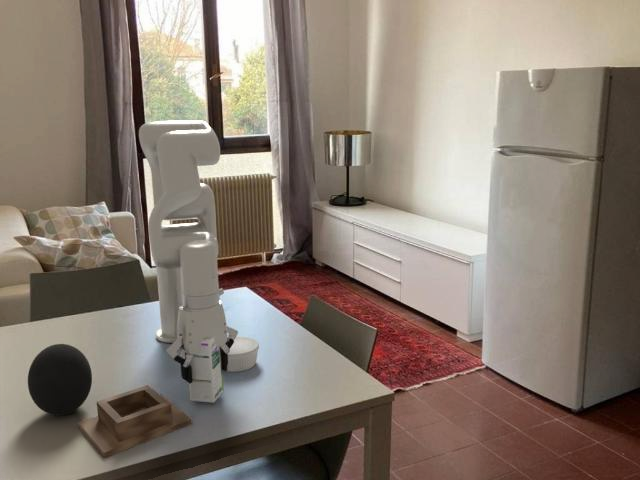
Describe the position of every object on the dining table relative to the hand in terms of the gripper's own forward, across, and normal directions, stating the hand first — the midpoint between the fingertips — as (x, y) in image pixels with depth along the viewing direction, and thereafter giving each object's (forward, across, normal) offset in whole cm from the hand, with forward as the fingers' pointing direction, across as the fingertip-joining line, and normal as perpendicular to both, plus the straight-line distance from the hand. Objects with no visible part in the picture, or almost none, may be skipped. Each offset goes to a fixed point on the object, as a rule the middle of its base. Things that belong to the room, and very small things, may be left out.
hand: (205, 374), depth 130 cm
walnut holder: (+6, +16, 0) cm, 17 cm away
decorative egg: (+6, +26, -16) cm, 31 cm away
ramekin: (+7, -15, -11) cm, 20 cm away
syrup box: (+5, 0, 0) cm, 5 cm away
